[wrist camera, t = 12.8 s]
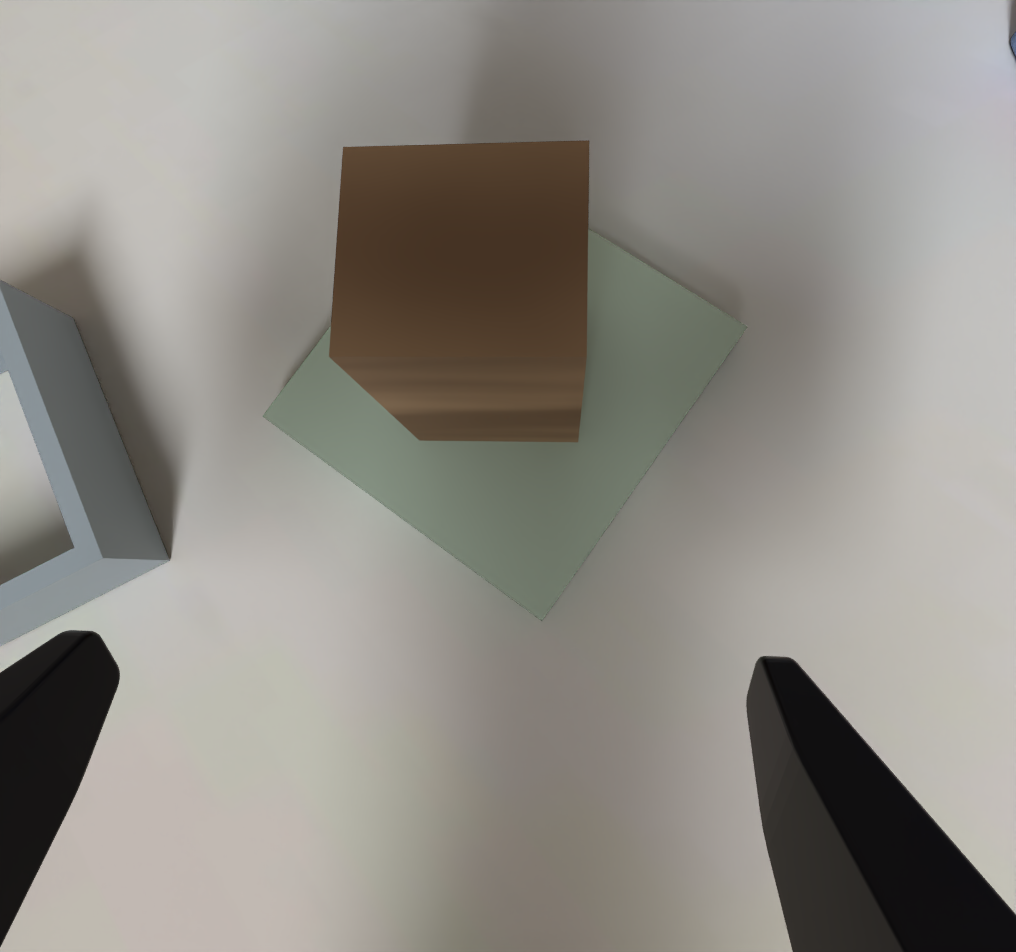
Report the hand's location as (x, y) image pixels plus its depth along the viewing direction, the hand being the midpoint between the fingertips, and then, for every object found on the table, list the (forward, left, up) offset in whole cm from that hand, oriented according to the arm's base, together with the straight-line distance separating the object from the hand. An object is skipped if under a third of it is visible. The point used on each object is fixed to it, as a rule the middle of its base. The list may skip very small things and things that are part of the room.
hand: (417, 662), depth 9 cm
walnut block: (+6, +4, -9) cm, 12 cm away
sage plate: (+6, +4, -10) cm, 12 cm away
